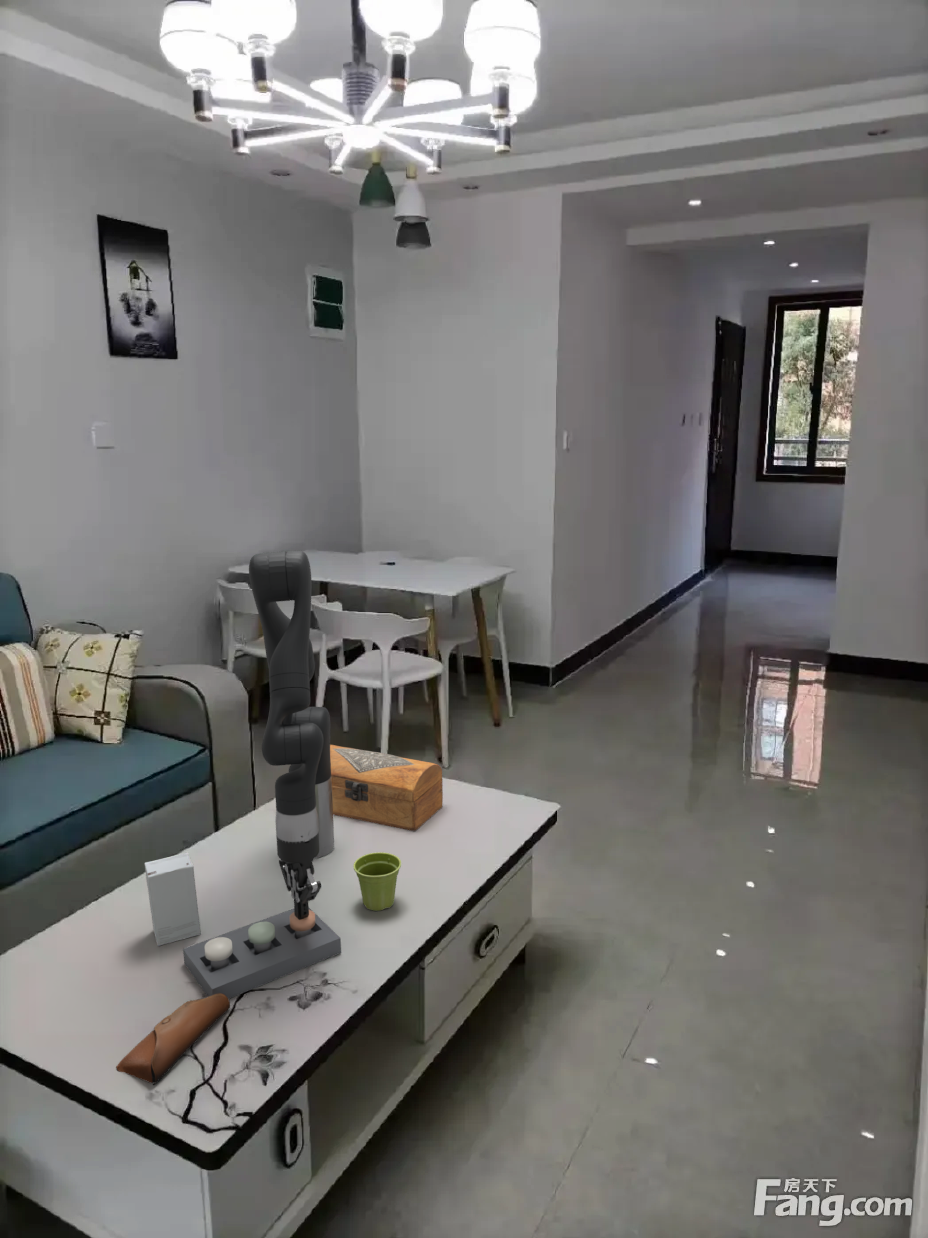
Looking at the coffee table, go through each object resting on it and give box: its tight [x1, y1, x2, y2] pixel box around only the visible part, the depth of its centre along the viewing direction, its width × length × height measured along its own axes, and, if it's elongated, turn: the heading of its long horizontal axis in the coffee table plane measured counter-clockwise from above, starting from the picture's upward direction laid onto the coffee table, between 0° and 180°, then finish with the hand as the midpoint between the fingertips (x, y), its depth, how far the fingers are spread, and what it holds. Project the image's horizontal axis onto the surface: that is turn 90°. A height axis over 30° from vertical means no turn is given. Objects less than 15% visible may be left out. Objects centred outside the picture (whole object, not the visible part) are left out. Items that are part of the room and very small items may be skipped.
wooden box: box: [330, 744, 444, 832], centre depth 216 cm, size 30×16×14 cm, turn 65°
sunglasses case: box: [115, 993, 231, 1086], centre depth 138 cm, size 18×7×7 cm
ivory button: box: [205, 937, 233, 972], centre depth 154 cm, size 5×5×4 cm
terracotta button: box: [290, 909, 316, 939], centre depth 163 cm, size 5×5×4 cm
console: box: [182, 907, 342, 999], centre depth 159 cm, size 14×24×3 cm, turn 127°
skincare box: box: [144, 852, 202, 947], centre depth 165 cm, size 8×6×15 cm
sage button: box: [248, 921, 275, 955], centre depth 158 cm, size 5×5×4 cm
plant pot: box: [352, 851, 402, 912], centre depth 176 cm, size 9×9×9 cm
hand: (301, 916), depth 162 cm, fingers closed
